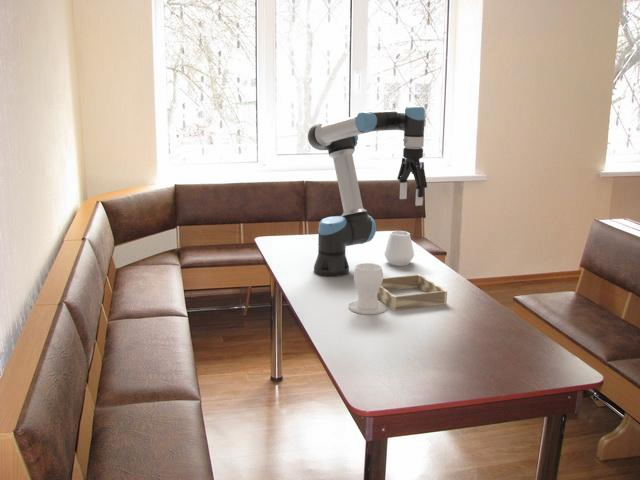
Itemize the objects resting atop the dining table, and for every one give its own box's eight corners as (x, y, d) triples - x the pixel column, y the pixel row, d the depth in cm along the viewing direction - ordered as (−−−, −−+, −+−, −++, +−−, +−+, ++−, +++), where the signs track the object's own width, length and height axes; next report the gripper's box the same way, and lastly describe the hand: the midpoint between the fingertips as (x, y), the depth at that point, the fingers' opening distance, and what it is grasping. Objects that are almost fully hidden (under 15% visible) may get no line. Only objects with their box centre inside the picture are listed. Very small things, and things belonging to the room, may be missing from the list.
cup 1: (380, 312, 238) (381, 272, 234) (350, 309, 240) (351, 270, 236) (383, 302, 248) (384, 263, 244) (355, 300, 250) (356, 261, 246)
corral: (369, 291, 262) (369, 279, 260) (418, 286, 269) (419, 274, 268) (393, 310, 242) (393, 297, 240) (446, 304, 249) (447, 291, 248)
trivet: (342, 303, 248) (342, 302, 248) (377, 299, 252) (377, 298, 252) (357, 316, 235) (357, 314, 235) (393, 312, 240) (393, 310, 239)
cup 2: (418, 261, 303) (420, 232, 300) (405, 268, 292) (407, 238, 289) (392, 257, 310) (393, 228, 307) (378, 263, 299) (379, 233, 296)
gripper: (390, 144, 264) (388, 196, 270) (419, 151, 242) (417, 208, 247) (407, 143, 267) (405, 195, 272) (438, 151, 244) (434, 207, 249)
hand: (410, 202), depth 259 cm, fingers open, 13 cm apart
